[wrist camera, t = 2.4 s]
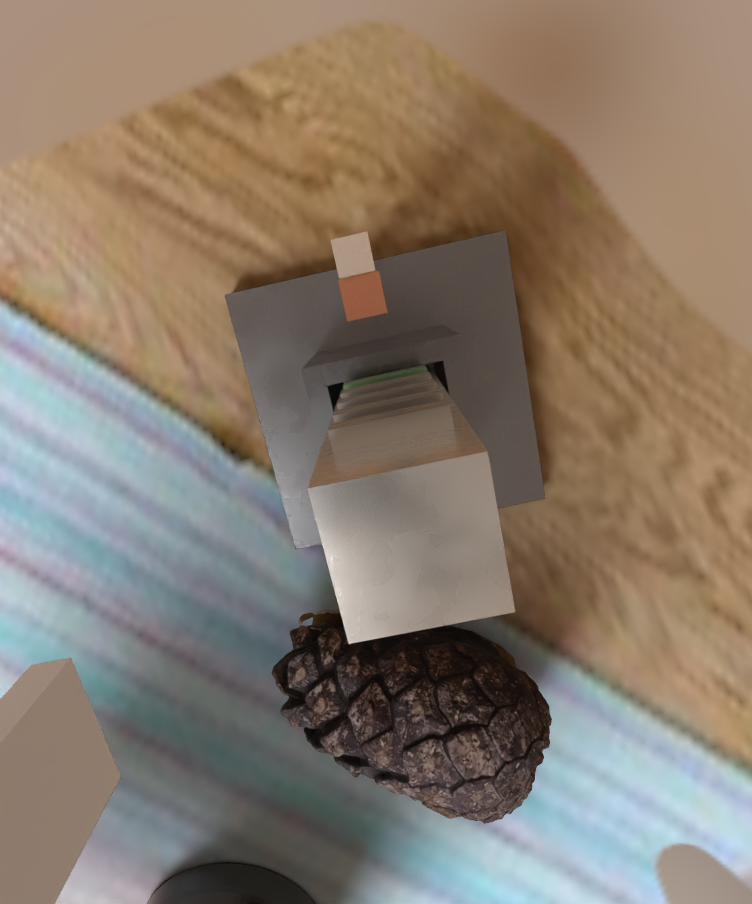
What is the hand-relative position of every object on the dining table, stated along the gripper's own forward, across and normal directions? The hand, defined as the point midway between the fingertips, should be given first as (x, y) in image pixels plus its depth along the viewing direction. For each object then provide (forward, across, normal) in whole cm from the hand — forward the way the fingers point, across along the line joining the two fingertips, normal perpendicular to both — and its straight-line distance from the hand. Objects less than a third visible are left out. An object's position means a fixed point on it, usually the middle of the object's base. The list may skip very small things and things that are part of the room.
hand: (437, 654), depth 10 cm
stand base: (+26, 0, 0) cm, 26 cm away
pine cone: (+26, -4, -20) cm, 33 cm away
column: (+25, 0, 0) cm, 25 cm away
